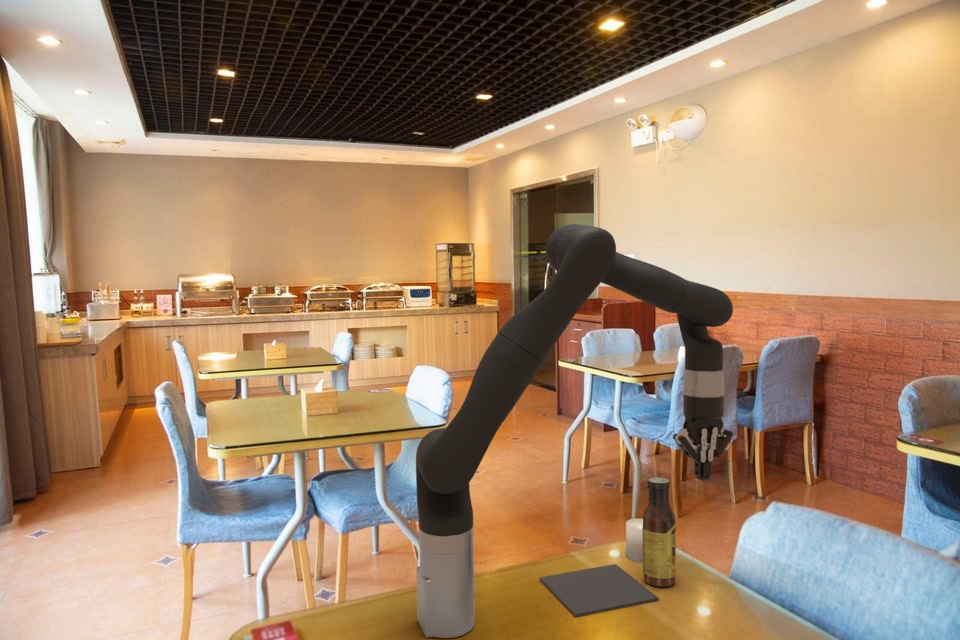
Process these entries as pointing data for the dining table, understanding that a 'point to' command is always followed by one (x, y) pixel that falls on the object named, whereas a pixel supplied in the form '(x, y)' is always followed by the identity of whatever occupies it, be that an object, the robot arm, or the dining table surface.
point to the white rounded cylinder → (634, 540)
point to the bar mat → (597, 590)
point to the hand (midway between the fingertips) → (702, 479)
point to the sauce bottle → (659, 536)
